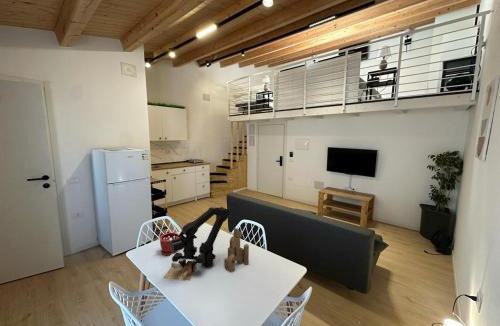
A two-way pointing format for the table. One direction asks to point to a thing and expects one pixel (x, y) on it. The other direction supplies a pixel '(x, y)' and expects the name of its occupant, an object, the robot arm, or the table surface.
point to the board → (177, 272)
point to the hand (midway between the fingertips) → (189, 271)
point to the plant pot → (167, 243)
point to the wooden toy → (236, 252)
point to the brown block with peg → (188, 269)
